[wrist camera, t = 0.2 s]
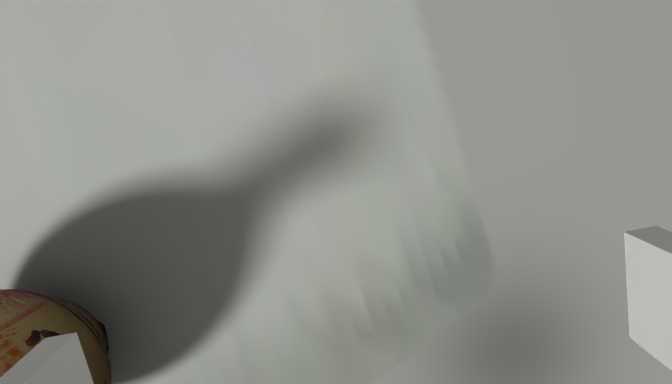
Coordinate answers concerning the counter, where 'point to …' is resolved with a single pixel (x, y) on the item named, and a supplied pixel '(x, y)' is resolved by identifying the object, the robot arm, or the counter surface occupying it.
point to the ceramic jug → (49, 330)
